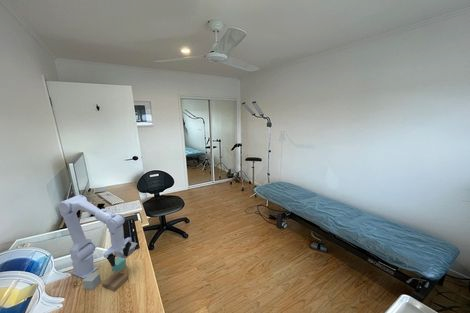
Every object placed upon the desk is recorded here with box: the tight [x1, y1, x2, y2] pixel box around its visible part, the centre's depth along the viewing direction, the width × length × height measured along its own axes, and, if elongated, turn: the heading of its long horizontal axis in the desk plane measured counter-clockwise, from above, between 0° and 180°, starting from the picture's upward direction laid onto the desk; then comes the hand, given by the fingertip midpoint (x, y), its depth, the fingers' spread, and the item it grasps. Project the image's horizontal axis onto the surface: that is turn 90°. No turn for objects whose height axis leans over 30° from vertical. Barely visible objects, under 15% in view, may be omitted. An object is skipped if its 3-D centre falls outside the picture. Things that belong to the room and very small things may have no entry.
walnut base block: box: [101, 271, 129, 292], centre depth 98 cm, size 8×8×3 cm
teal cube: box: [111, 257, 127, 272], centre depth 108 cm, size 5×5×5 cm
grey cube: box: [82, 272, 102, 290], centre depth 96 cm, size 5×5×5 cm
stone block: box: [113, 241, 138, 259], centre depth 122 cm, size 12×5×10 cm
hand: (119, 260), depth 100 cm, fingers open, 7 cm apart
